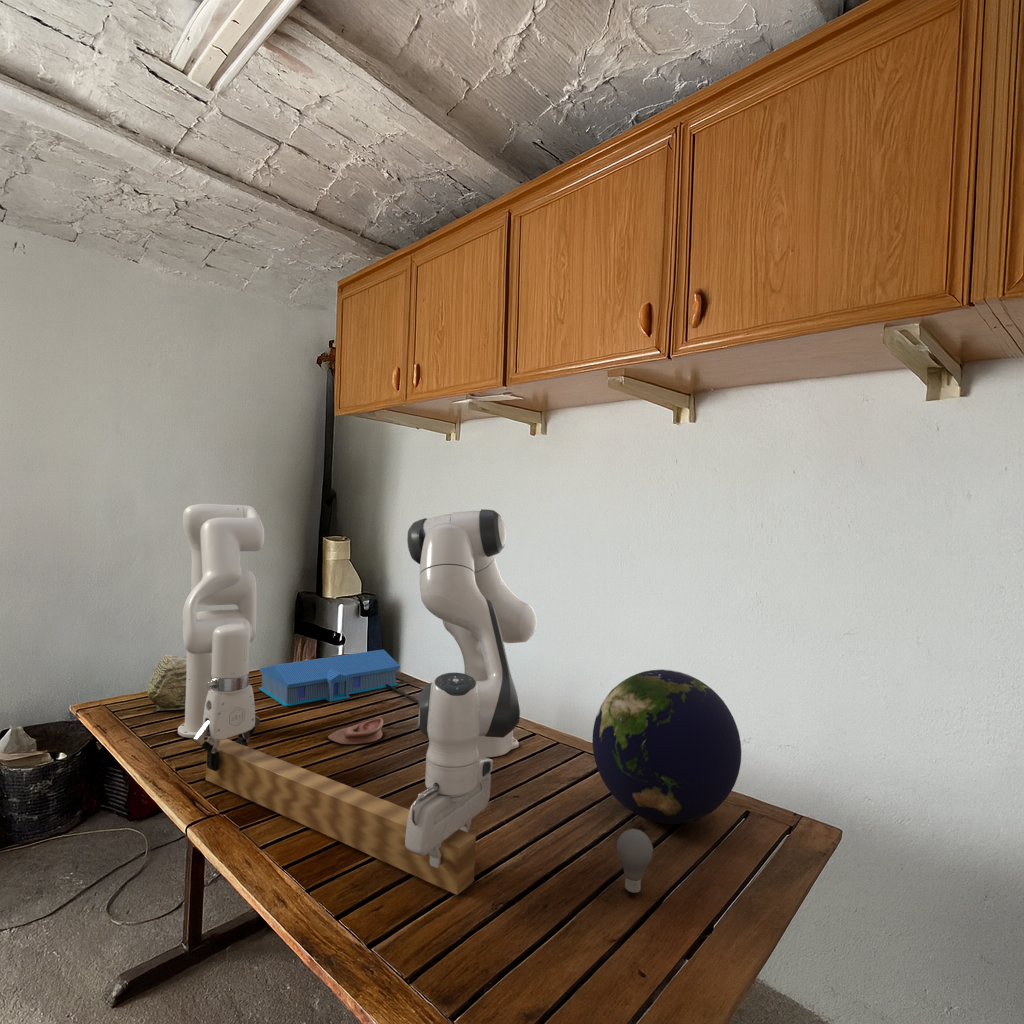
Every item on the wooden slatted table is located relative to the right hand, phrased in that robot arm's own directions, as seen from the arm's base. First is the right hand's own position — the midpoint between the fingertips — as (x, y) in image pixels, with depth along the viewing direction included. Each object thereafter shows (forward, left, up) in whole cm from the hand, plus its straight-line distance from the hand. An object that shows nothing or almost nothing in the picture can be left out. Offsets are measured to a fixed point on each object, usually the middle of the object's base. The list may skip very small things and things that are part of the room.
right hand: (448, 854), depth 106 cm
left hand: (-41, -45, 0) cm, 61 cm away
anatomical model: (-65, -19, -4) cm, 68 cm away
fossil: (-92, -70, -4) cm, 116 cm away
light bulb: (+6, +30, -4) cm, 31 cm away
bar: (-21, -23, -4) cm, 31 cm away
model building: (-108, -29, -4) cm, 112 cm away
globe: (-17, +46, -4) cm, 49 cm away
